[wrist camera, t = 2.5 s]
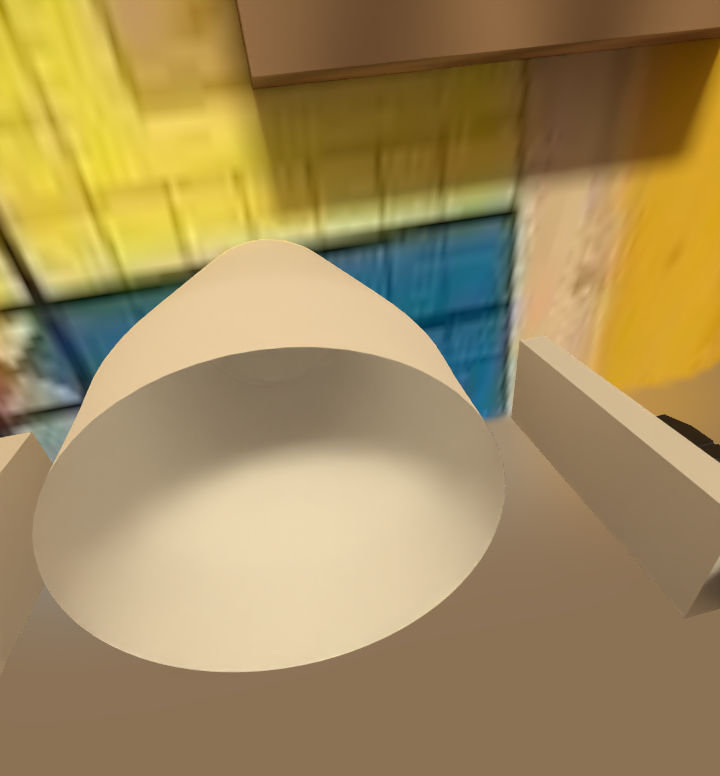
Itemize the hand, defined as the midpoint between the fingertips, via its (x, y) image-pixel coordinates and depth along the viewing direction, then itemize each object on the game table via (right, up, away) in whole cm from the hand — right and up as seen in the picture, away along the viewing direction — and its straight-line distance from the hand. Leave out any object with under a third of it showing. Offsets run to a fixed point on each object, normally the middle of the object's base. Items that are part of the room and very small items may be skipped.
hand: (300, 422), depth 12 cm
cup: (-2, +4, +7) cm, 8 cm away
